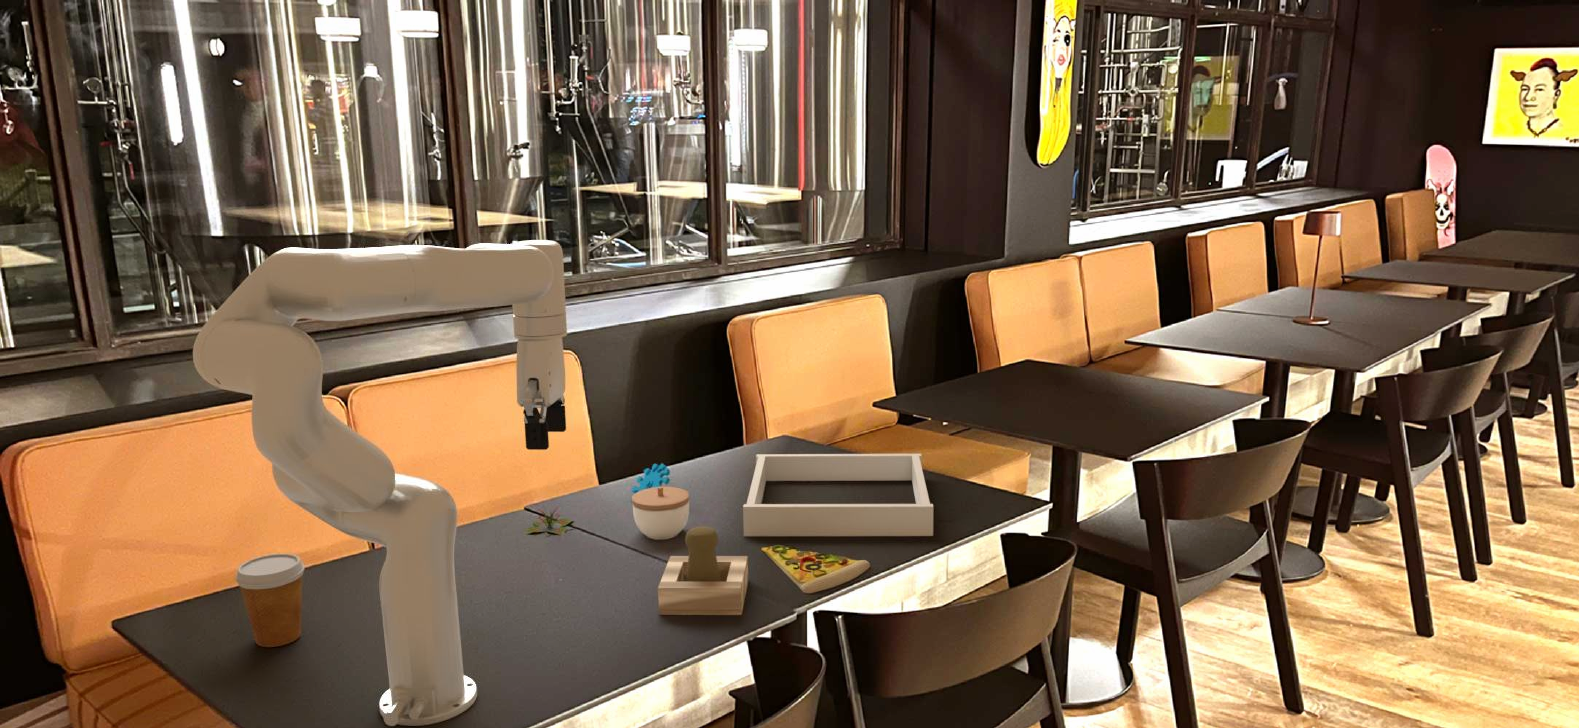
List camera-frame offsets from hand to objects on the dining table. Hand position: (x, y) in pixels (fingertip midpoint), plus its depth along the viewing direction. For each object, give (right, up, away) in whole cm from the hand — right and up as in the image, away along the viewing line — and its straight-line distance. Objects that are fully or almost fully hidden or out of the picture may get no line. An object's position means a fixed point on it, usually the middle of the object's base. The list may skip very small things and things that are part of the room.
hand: (546, 439), depth 164 cm
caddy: (+22, -27, +16) cm, 38 cm away
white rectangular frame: (+46, -17, +57) cm, 75 cm away
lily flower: (-10, -21, +48) cm, 54 cm away
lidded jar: (+12, -21, +44) cm, 50 cm away
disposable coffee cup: (-42, -31, +5) cm, 52 cm away
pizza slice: (+38, -25, +28) cm, 54 cm away
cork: (+22, -26, +15) cm, 37 cm away
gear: (+6, -19, +60) cm, 63 cm away
